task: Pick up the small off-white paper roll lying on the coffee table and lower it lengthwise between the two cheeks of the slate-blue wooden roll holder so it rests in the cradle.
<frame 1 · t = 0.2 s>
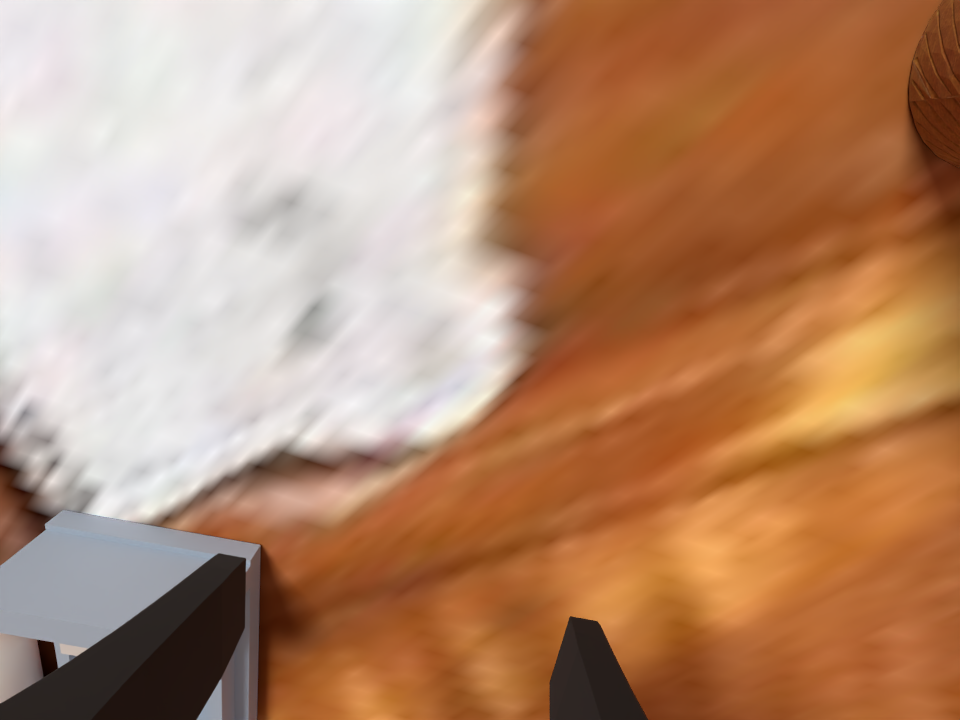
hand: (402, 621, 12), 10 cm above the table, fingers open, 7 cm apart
roll: (21, 654, 28), on the table
holder: (169, 641, 26), on the table
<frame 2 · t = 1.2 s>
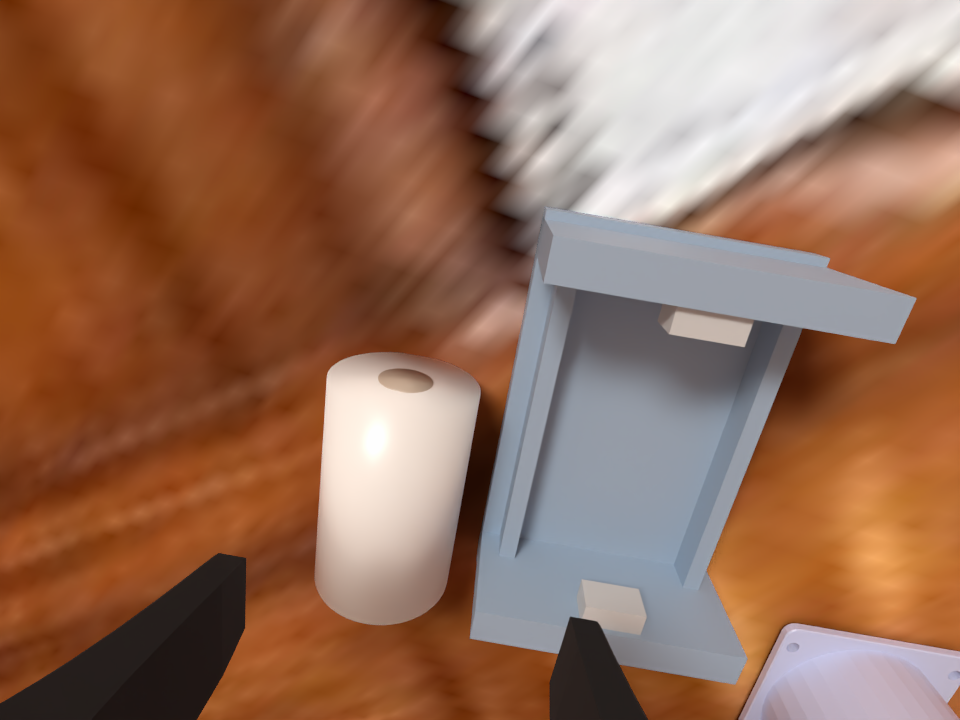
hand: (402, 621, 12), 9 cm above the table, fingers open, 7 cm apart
roll: (407, 447, 21), on the table
holder: (624, 416, 20), on the table
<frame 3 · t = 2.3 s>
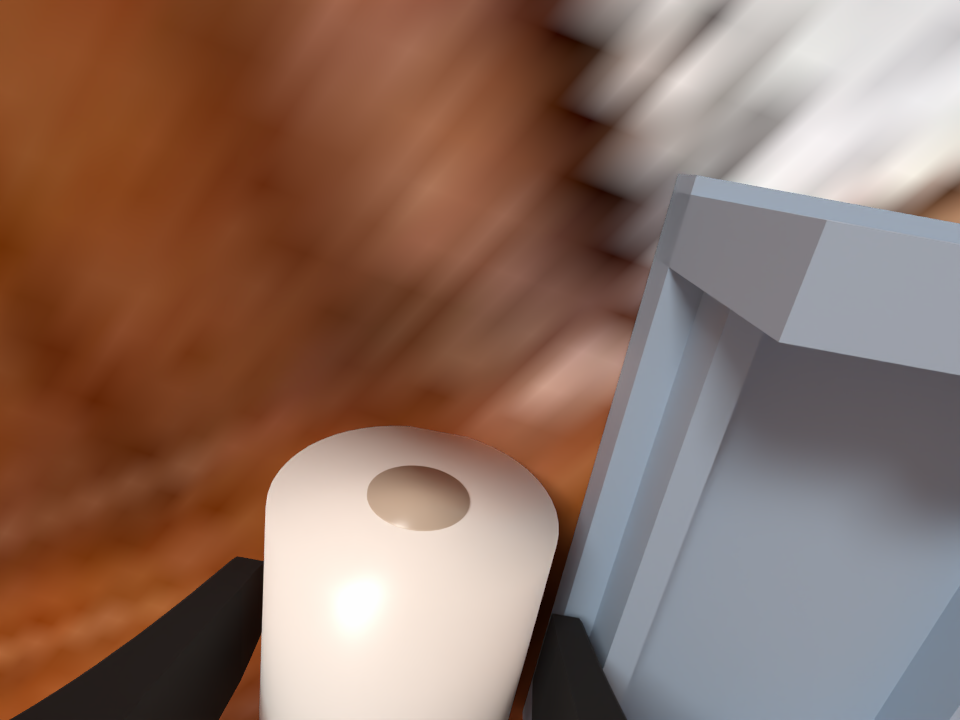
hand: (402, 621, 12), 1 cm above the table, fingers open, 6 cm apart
roll: (415, 570, 13), on the table
holder: (780, 534, 12), on the table
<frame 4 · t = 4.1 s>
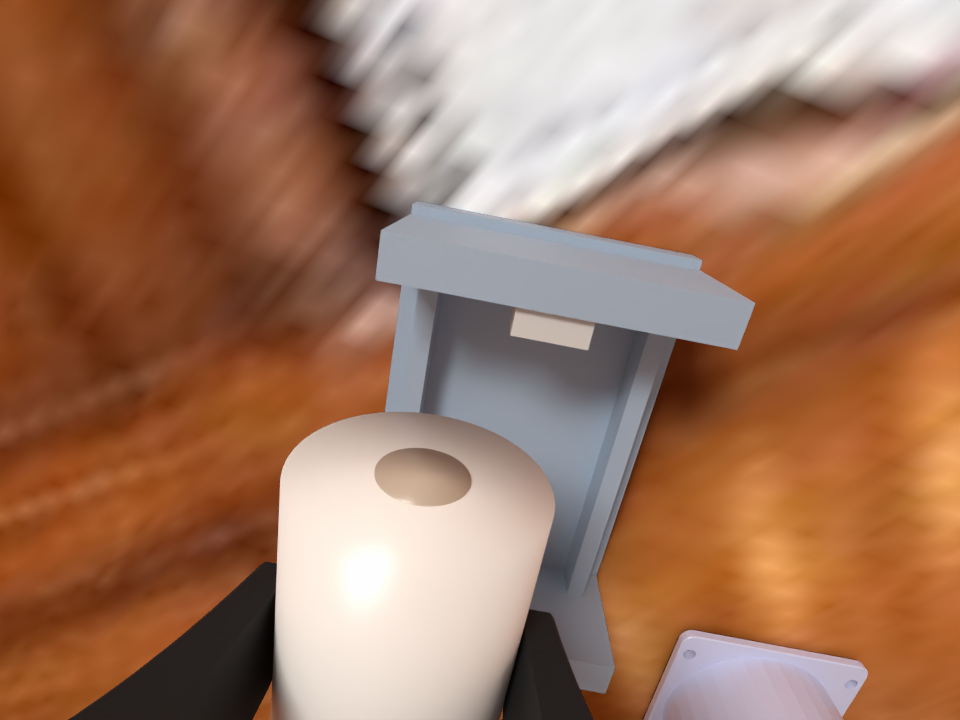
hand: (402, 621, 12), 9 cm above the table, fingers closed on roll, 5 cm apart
roll: (398, 550, 14), point 7 cm above the table, tilted 12°, touching gripper
holder: (511, 418, 20), on the table
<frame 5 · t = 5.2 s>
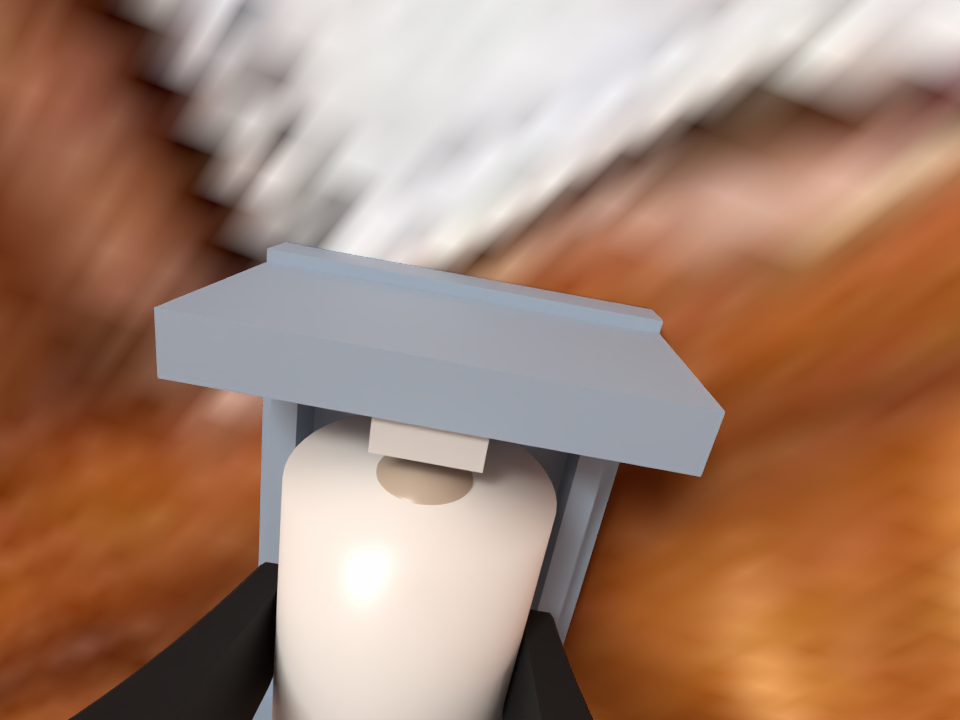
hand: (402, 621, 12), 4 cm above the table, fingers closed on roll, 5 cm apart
roll: (398, 549, 14), point 2 cm above the table, tilted 13°, touching gripper
holder: (429, 513, 15), on the table
when the fingers open (3 cm above the table, at t = 5.8 s): roll stays where it is, resting on holder.
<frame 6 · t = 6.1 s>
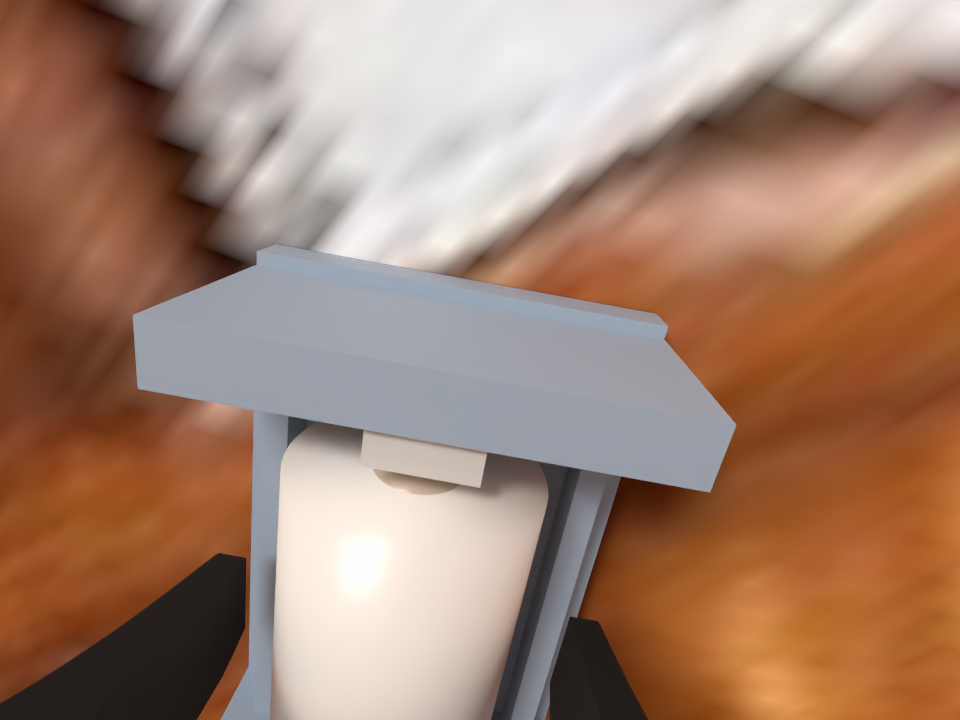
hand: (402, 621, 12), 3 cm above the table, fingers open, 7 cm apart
roll: (400, 542, 14), point 1 cm above the table, tilted 9°, touching holder
holder: (426, 522, 15), on the table
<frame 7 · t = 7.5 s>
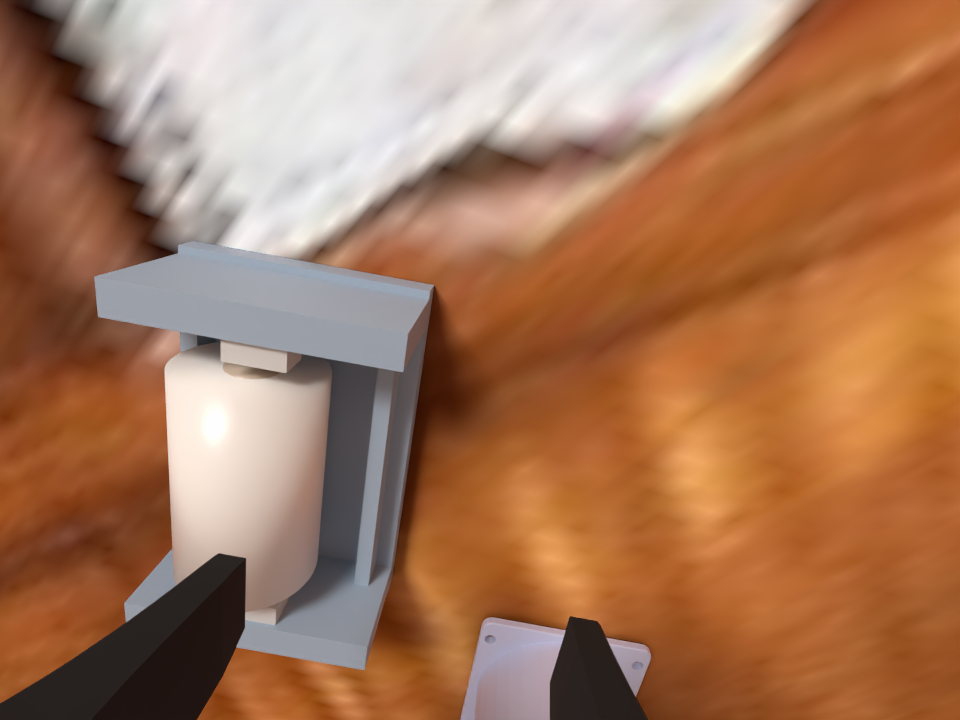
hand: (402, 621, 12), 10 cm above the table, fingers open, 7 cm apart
roll: (282, 436, 21), point 1 cm above the table, touching holder
holder: (304, 428, 22), on the table
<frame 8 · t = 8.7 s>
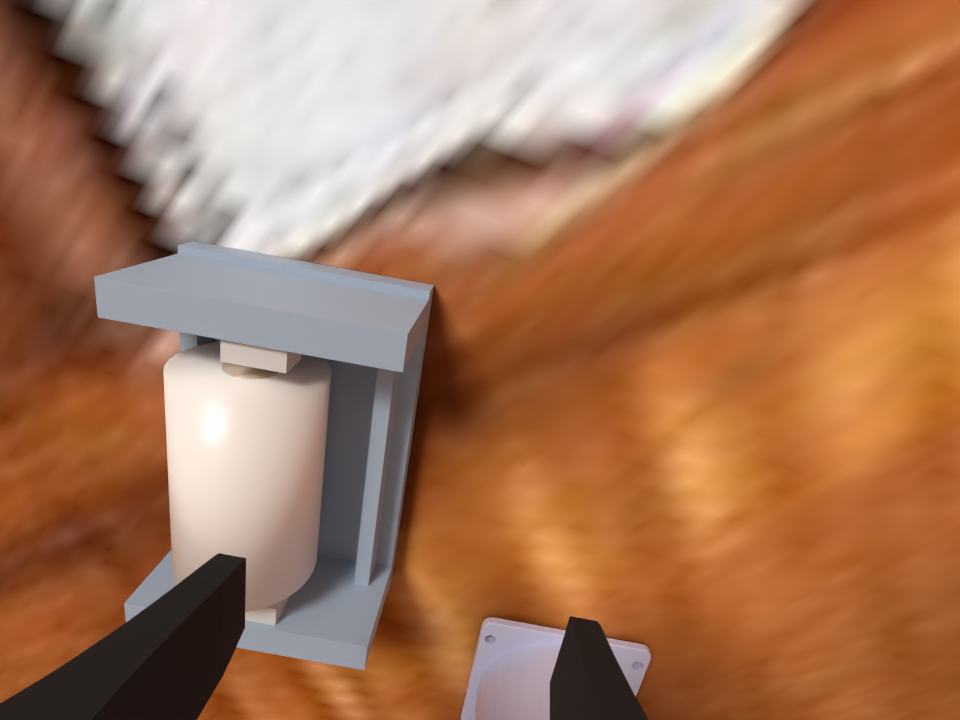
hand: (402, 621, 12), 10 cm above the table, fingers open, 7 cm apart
roll: (281, 437, 21), point 1 cm above the table, touching holder
holder: (304, 428, 22), on the table
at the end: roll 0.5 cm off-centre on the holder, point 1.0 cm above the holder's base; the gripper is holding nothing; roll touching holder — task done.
